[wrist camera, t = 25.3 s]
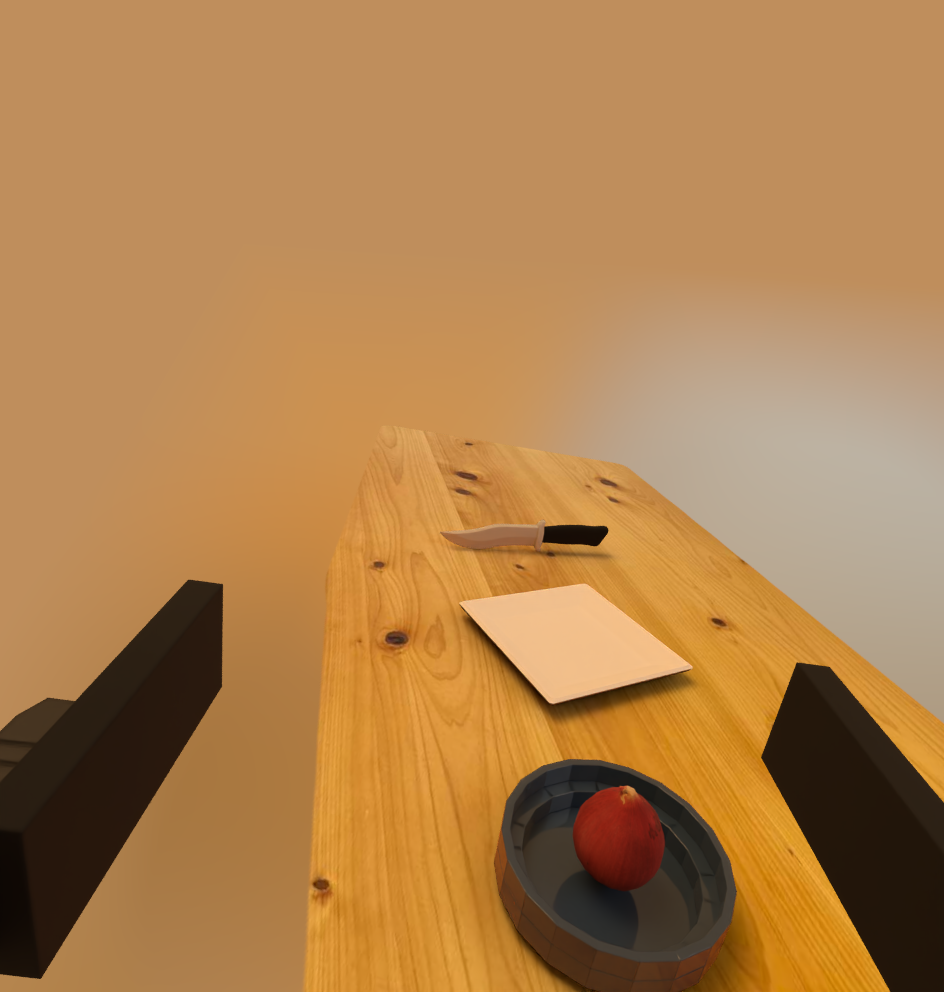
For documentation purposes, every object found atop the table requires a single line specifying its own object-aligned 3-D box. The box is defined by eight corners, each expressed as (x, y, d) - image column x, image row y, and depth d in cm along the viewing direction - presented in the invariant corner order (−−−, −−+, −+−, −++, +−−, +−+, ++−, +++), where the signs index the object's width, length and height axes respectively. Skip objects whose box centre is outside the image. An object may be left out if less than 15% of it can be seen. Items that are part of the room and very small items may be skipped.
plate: (547, 720, 60) (551, 702, 59) (455, 615, 75) (458, 600, 74) (689, 682, 69) (694, 665, 68) (583, 595, 84) (586, 581, 83)
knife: (438, 549, 91) (443, 516, 89) (437, 544, 92) (441, 511, 90) (603, 557, 96) (611, 527, 94) (599, 552, 98) (606, 522, 96)
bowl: (474, 964, 38) (484, 916, 37) (509, 778, 52) (518, 739, 51) (738, 1044, 36) (759, 997, 35) (701, 828, 50) (714, 788, 49)
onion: (618, 835, 47) (643, 748, 45) (667, 906, 43) (699, 814, 40) (549, 852, 45) (571, 762, 42) (592, 930, 40) (621, 834, 38)
